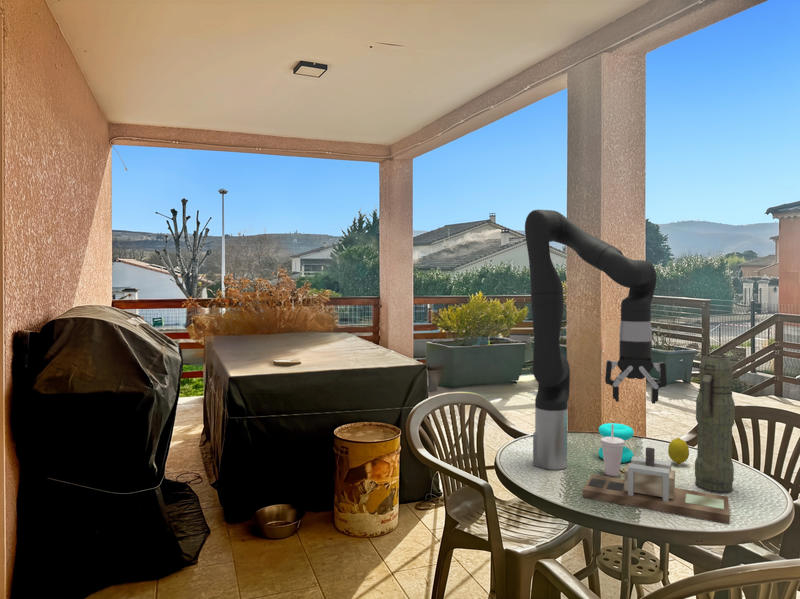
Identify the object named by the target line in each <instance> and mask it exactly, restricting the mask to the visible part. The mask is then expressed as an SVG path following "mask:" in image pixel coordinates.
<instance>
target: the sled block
mask: <svg viewBox="0 0 800 599" xmlns="http://www.w3.org/2000/svg"><path fill="white" fill-rule="evenodd" d="M655 452H656V450H655V448H653V447H645V458H646V466H651V467H654V459H655V454H656V453H655ZM629 464H630V463H627V465H626V466H625V469H624V480H625V485H624V491H628V466H629ZM675 488H676V470H673V469H671V470H670V474H669V498H670V499H674V493H675ZM634 492H635V493H641V494H647V495H653V496H659V497H663V477H662V476H656V475H649V474H643V473H636V472H634Z"/></svg>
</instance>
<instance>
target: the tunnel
mask: <svg viewBox="0 0 800 599" xmlns="http://www.w3.org/2000/svg"><path fill="white" fill-rule="evenodd" d="M628 464H629V466H628V495H630V496H633V495H634V472H636V473H643V474H649V475H656V476H662V477H663V501H664V502H669V474H670V470H672V461H668V460H661V459H656V458H654V467H651V466H646V457H640V456H633V457H632V459H631V461H630V462H629V463H628Z"/></svg>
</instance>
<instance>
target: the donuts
mask: <svg viewBox="0 0 800 599" xmlns="http://www.w3.org/2000/svg"><path fill="white" fill-rule="evenodd" d="M612 424H614V434H613V437H617V438H620V439H623V440H624V441H629V440H630V439H632V438H633V436H634V435H635V432H634V429H633V428H632V427H631V426H630V425H627V424H622V423H614V422H609V423H608V422H606V423H603V424H601V425H600V426H599V427H598V434H600V435H601V436H602V438H603V437H611V425H612ZM598 455H599V457H600V459H603V460H604V458H603V450H602V446H600V447H599V449H598ZM634 455H635V454H634V452H633V451H632V450H631V449H630V448H628V447H627V446H625V445H624V446H623V451H622V458H621V464H622V463H623V464H624V463H630V462H631V459H632V457H633V456H634ZM634 457H635V456H634Z"/></svg>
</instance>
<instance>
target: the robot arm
mask: <svg viewBox="0 0 800 599" xmlns="http://www.w3.org/2000/svg"><path fill="white" fill-rule="evenodd" d="M524 234H525V235H524V236H525V244H526V249H527V254H528V263H529V277H530V304H531V305H530V306H531V316H532V317H531V318H532V320H531V321H532V330H533V358H532V373H533V374H532V375H533V377H534V379H535V380H536V382H537V383H538V385H537V392H536V396H535V400H534V401H535V403H534V405H535V406H534V407H535V408H534V409H535V410H534V413H535V414H534V415H535V416H534V417H535V418H534V420H535V422H534V428H535V429H534V432H533V433H532V465H533V464H534V465H533V466H536V465H537V466H536V467H538V468H541V469H544V470H545V469H546V470H552V471H553V470H554V471H555V470H556V471H557V470H564V469H566V468H567V467H568V404H569V398H570V385H571V384H570V381H571V379H570V378H571V369H570V363H569V361H568V360H567V358H566V357H565V356H564V355H563V354H561V344H560V342H561V341H560V336H561V328H562V324H563V319H564V311H565V310H564V309H565V302H564V299H565V298H564V286H563V283H562V280H561V277H560V275H559V274H558V272H557V269H556V268H555V266H554V264H553V260H552V257H551V252H550V251H551V250H550V243H551V242H555V243H559V244H561V245H565V246H566V247H568V248H570V249H572V250H573V251H574V252H575V253H576V255H578V256H579V258H580V259H581V260H583V261H584V262H585V263H587V264H588V265H589V266H590V265H591V266H592V267H593V268H595V269H598V270H599V271H602V272H603V273H605V274H606V276H608V278H610V279H611V280H612V281H613V282H614V283H617V284H618V285H620V286H622V287H624V288H628V289H629V290H628V295H627V297H625V298H623V299H622V301H621V303H620V325H619V351H618V352H619V355H618V356H619V358H618V361H616V360H611V359H607V360H606V362H605V363H606V364H605V376H604V377H605V379H604V382H605V385H608V386H611V387H612V398H613V400H615V402H620V387H619V385H620V384H621V383H622V382H623V381H624V380H625V379H626V378H627V379H629V380H630V379H631V380H632V379H633V380H634V379H637V380H642V379H646V380H647V381H648V383H649V384H650V385H651V386H652V387H651V388H650V389H651V391H650V392H651V394H650V396H651V398H650V399H651V400H650V401H651V404H652V405H655V404H656V403H657V402H658V401H659V389H660V388H666V387H667V370H666V368H667V367H666V363H664V362H663V361H660V362H653V361H652V360H653V359H652V350H653V349H652V346H653V345H652V342H653V341H652V339H653V331H652V330H653V329H652V317H651V316H652V307H651V306H652V301H653V297H654V293H655V290H656V286H657V271H656V268H655V266H654V265H653V263H652V262H650V261H648V260H642V259H631V258H629V257H626V256H625V255H624V254H623V252H622V250H620V249H619V248H618V247H615V246H613V245H611V244H610V243H608V242H605V241H603V240H601V239H599V238H597V237H596V236H594V235H591V234H590V233H588V232H587V231H586V230H583V229H582V228H581V227H579V226H577V224H575V223H573V222H572V221H571V220H570V219H569V218H567V217H566V216H565V215H564V214H562V213H561V212H559V211H557V210H552V209H551V210H550V209H534V210H532V211H530V212H529V213H528V214H527V215H526V218H525V222H524ZM616 367H617V368H618V369H619V370H620V372H619V374H618V375H617V377H616V378H614V379H612V370H614V369H615V368H616ZM654 368H655V370H656V371H657V372H659V381H657V382H656V381H655V379H654V378H653V377H652V376H651V375H650V372H651V371H653V369H654Z"/></svg>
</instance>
